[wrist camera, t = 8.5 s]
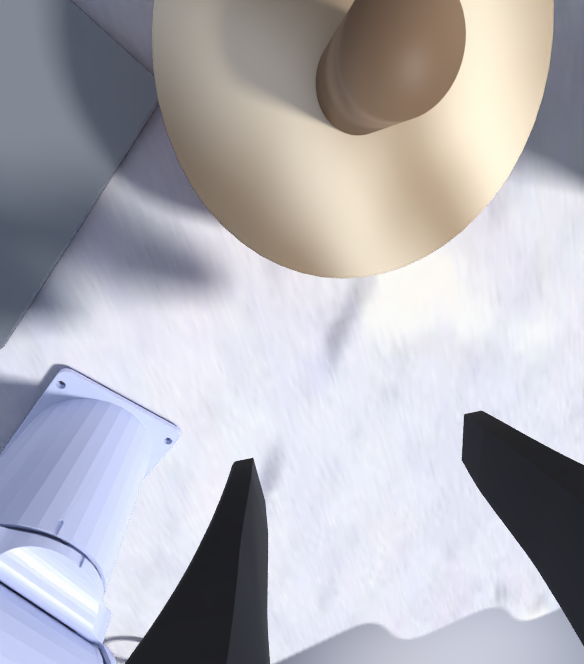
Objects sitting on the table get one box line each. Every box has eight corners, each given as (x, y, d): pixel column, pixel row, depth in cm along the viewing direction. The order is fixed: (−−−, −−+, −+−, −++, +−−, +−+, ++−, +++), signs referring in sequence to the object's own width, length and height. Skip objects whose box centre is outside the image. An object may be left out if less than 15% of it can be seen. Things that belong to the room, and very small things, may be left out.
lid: (359, 330, 16) (395, 380, 12) (80, 113, 12) (-4, 82, 8) (602, 65, 13) (757, 17, 9) (344, -369, 8) (428, -839, 5)
